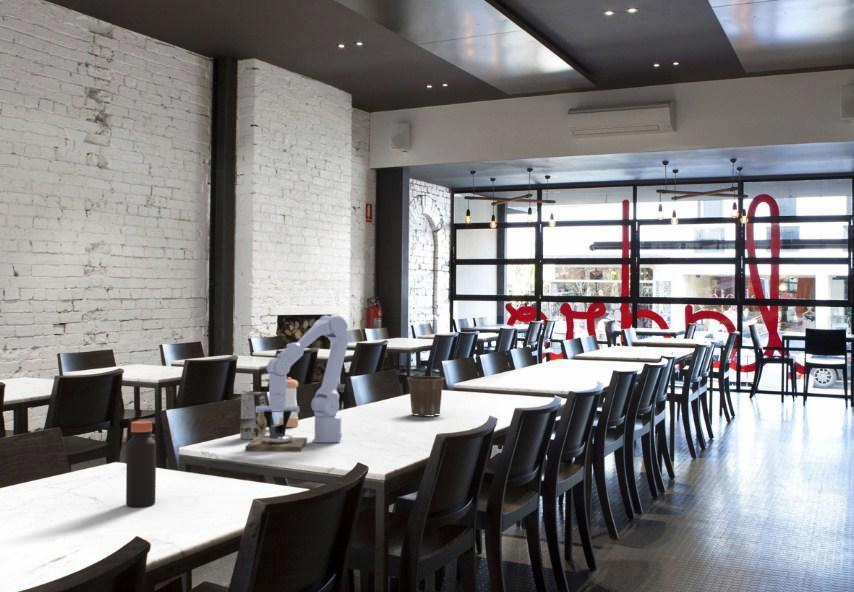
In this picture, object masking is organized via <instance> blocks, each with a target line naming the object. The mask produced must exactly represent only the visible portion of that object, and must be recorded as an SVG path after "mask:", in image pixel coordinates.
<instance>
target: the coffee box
mask: <svg viewBox="0 0 854 592" xmlns="http://www.w3.org/2000/svg"><path fill="white" fill-rule="evenodd" d="M267 393H268V392H267V391H248V392H244V393H241V394H240V395H241V397H240V436H239V437H240V438H243V439H242V440H250V439H254V438H255V437H263V436H265V435H267V421H266V419H265V417H264V412H259V413H256V406H267V402H268V401H267V400H268V399H267V397H268V396H267Z"/></svg>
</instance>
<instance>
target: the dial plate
mask: <svg viewBox="0 0 854 592" xmlns="http://www.w3.org/2000/svg"><path fill="white" fill-rule="evenodd" d="M307 443H308V437H293V436H292V442H290V443H283V444H269V443H263V442H262V437H255V438H254V439H253V440H250V442H249V443H248V444H246V445H245V450H246V451H245V452H301V451H303V449H304V447H305V446H306V444H307Z"/></svg>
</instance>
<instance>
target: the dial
mask: <svg viewBox="0 0 854 592" xmlns="http://www.w3.org/2000/svg"><path fill="white" fill-rule="evenodd" d="M292 437H293V435H290V434H286V433H285V434H283V424H282V423H276V424H272V426H270V432H269V434H268V435H267V434H266V436H263V437H262V442H263V443H269V444H283V443H290V442H292Z"/></svg>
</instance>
